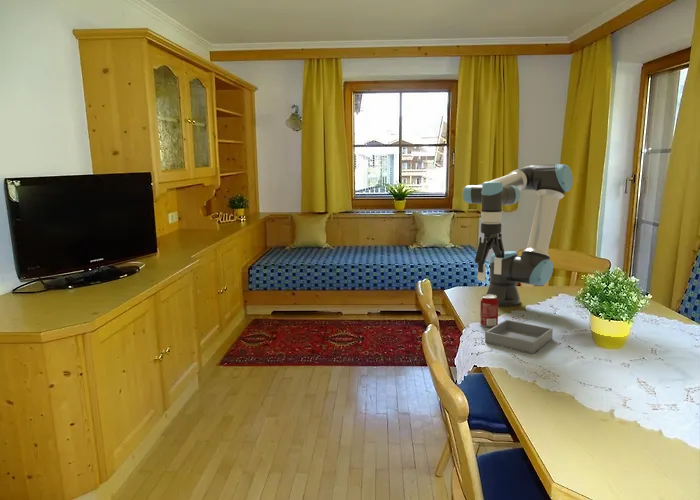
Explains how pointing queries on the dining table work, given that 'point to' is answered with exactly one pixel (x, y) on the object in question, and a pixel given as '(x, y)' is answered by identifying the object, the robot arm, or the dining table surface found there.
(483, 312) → the soda can
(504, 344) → the bin
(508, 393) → the dining table surface
